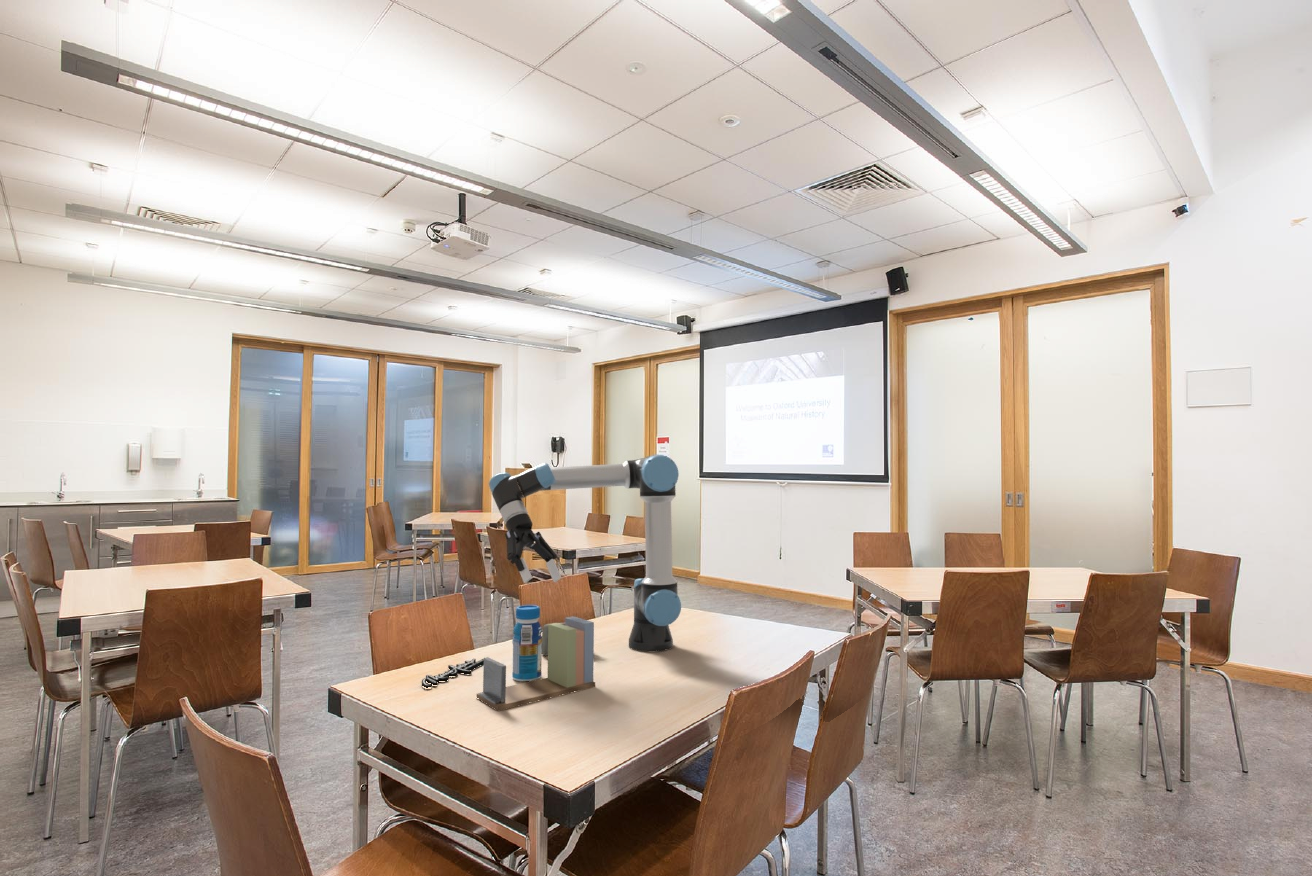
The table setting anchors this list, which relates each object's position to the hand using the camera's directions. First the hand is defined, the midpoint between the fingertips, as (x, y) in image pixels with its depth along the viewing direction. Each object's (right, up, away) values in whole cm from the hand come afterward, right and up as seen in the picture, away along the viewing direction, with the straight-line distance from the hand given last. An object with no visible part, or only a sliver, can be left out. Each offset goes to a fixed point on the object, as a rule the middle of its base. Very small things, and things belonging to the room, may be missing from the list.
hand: (543, 580), depth 186 cm
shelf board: (+1, -26, -15) cm, 30 cm away
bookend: (-9, -25, -23) cm, 35 cm away
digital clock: (+3, -29, +22) cm, 37 cm away
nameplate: (-26, -28, 0) cm, 38 cm away
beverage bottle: (-4, -28, -3) cm, 28 cm away
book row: (+9, -26, -8) cm, 28 cm away
